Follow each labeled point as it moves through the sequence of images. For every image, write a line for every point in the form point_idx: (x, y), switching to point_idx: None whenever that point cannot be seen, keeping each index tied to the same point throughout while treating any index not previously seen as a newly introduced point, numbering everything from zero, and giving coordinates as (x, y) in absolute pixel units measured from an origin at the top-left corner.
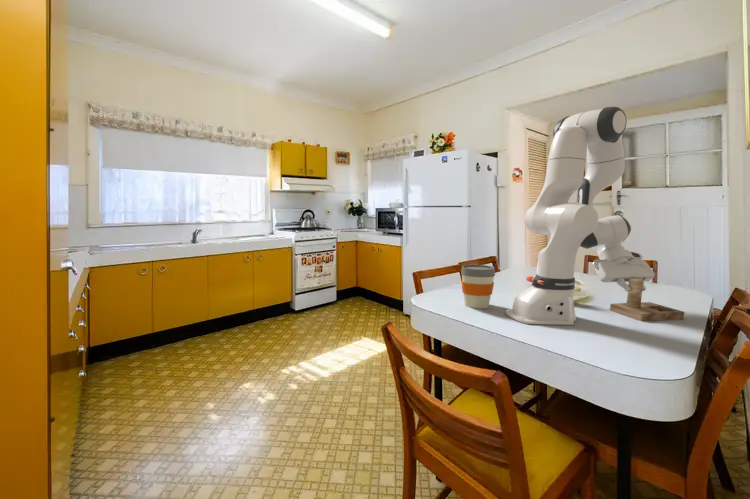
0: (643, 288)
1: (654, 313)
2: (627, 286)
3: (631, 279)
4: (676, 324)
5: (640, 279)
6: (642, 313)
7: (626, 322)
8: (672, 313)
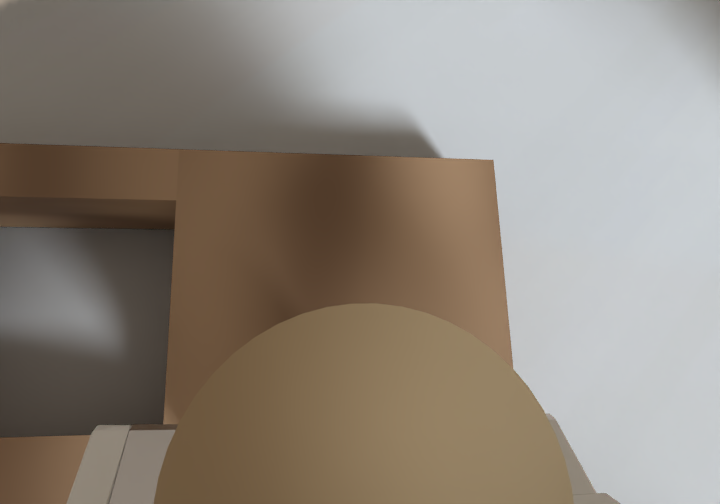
0: (167, 428)
1: (328, 155)
2: (577, 466)
3: (559, 490)
4: (214, 61)
5: (329, 370)
6: (473, 167)
7: (630, 181)
8: (74, 151)
